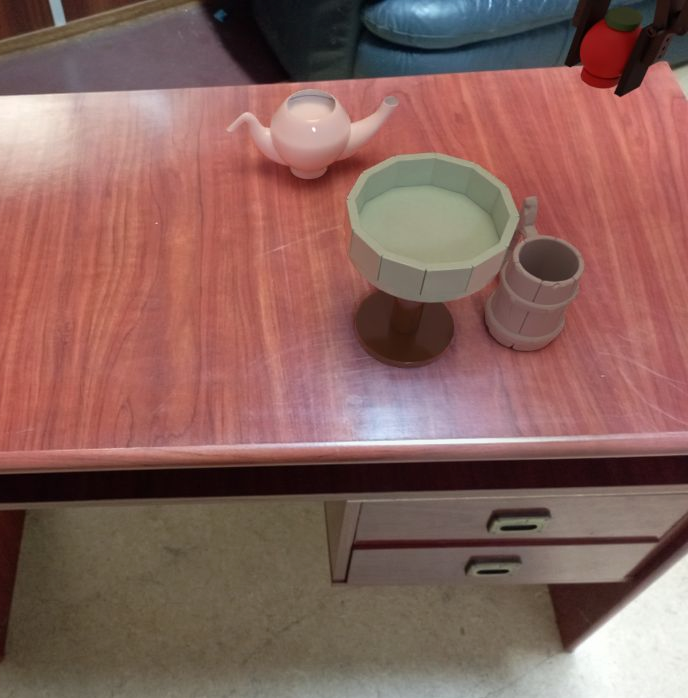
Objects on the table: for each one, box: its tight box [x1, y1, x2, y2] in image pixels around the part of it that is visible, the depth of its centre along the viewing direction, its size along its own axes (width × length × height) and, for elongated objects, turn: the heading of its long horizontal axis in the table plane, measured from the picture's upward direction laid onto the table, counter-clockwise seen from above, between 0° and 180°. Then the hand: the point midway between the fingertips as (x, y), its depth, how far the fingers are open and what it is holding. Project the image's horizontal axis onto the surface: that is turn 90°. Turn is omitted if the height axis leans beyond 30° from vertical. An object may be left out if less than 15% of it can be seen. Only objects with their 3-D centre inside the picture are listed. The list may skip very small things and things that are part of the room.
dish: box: [342, 151, 520, 369], centre depth 68 cm, size 14×14×17 cm
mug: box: [484, 195, 586, 352], centre depth 71 cm, size 8×12×12 cm, turn 7°
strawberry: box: [579, 6, 644, 90], centre depth 67 cm, size 5×5×6 cm
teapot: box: [225, 88, 400, 180], centre depth 87 cm, size 10×20×9 cm, turn 90°
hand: (601, 74), depth 70 cm, fingers closed on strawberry, 5 cm apart
